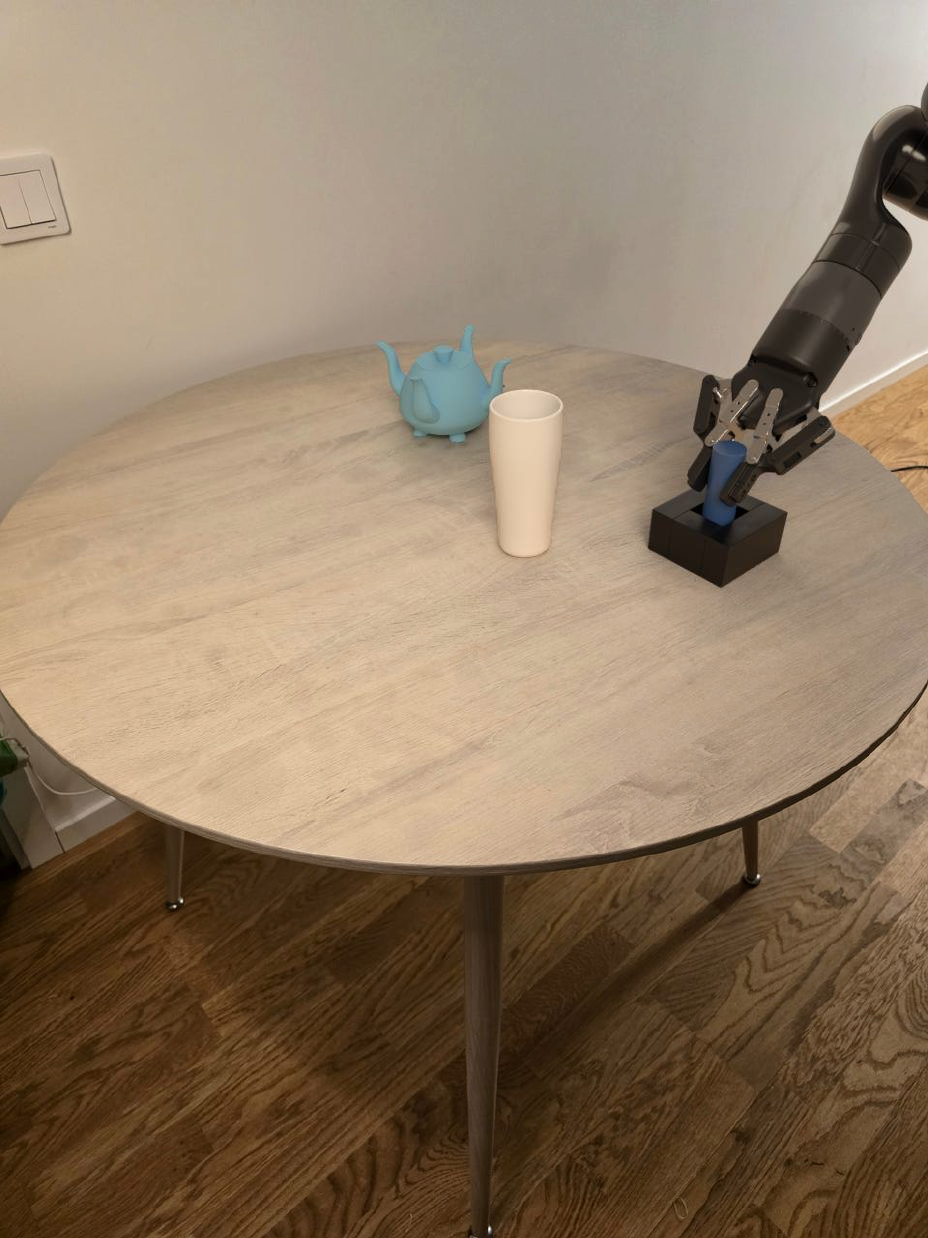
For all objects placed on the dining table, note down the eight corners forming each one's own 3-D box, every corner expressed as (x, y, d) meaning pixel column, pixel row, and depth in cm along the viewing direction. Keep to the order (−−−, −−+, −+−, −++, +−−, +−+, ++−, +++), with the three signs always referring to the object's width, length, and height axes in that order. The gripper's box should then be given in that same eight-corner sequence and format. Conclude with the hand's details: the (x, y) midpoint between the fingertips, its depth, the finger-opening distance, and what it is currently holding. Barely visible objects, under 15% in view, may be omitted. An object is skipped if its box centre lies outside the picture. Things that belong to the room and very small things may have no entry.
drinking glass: (523, 572, 82) (525, 428, 73) (476, 544, 86) (472, 404, 77) (572, 545, 86) (580, 403, 76) (524, 519, 90) (526, 382, 81)
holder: (778, 551, 84) (788, 512, 81) (721, 588, 79) (729, 547, 77) (704, 516, 89) (711, 477, 86) (647, 548, 85) (651, 509, 82)
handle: (737, 535, 82) (753, 454, 76) (704, 537, 82) (718, 456, 76) (726, 517, 84) (741, 438, 79) (695, 520, 84) (708, 440, 79)
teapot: (414, 460, 101) (407, 377, 95) (380, 415, 111) (372, 337, 104) (514, 438, 104) (515, 357, 98) (474, 396, 114) (472, 320, 108)
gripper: (736, 288, 79) (634, 452, 80) (880, 328, 70) (761, 510, 72) (761, 330, 85) (665, 482, 86) (896, 372, 76) (786, 540, 78)
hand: (709, 494), depth 79 cm, fingers closed on handle, 3 cm apart
